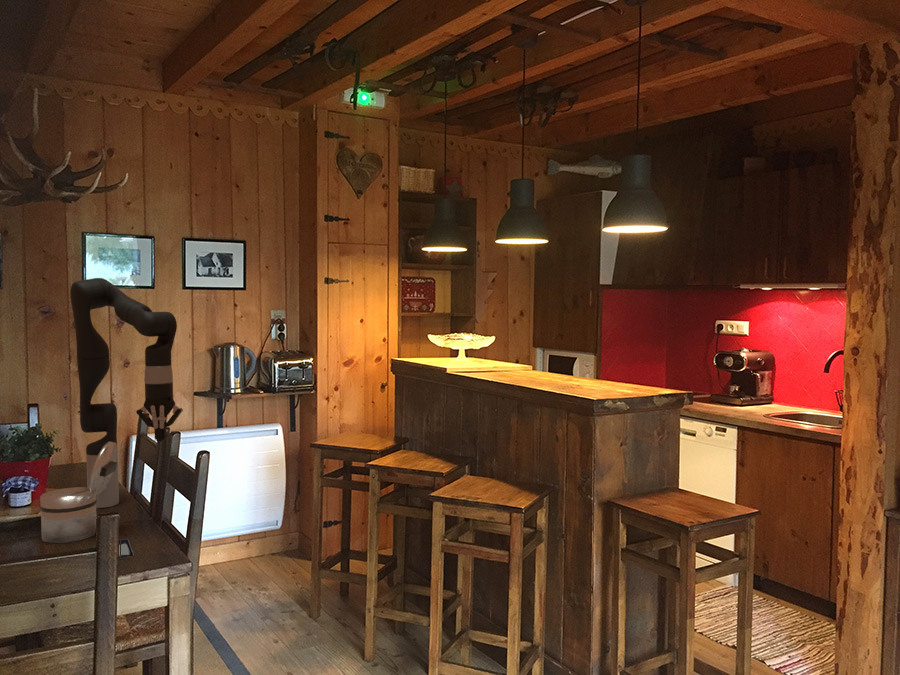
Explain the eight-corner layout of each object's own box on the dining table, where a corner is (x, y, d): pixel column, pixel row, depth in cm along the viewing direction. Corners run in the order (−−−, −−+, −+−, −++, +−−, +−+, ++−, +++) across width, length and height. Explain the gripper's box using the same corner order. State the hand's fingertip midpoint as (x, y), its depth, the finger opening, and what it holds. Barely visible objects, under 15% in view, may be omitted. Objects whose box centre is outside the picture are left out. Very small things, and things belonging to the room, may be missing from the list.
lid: (117, 437, 218) (127, 439, 218) (105, 486, 218) (114, 488, 218) (97, 447, 203) (107, 449, 203) (84, 499, 203) (94, 501, 203)
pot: (55, 528, 217) (53, 487, 217) (105, 526, 218) (104, 486, 218) (31, 544, 203) (29, 500, 202) (85, 542, 204) (84, 499, 204)
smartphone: (103, 561, 188) (99, 543, 201) (103, 564, 188) (99, 546, 201) (134, 556, 192) (128, 538, 205) (135, 559, 192) (128, 542, 205)
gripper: (186, 379, 216) (187, 438, 217) (139, 380, 215) (141, 439, 216) (178, 382, 209) (180, 443, 210) (130, 383, 208) (132, 444, 209)
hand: (160, 441), depth 213 cm, fingers closed
